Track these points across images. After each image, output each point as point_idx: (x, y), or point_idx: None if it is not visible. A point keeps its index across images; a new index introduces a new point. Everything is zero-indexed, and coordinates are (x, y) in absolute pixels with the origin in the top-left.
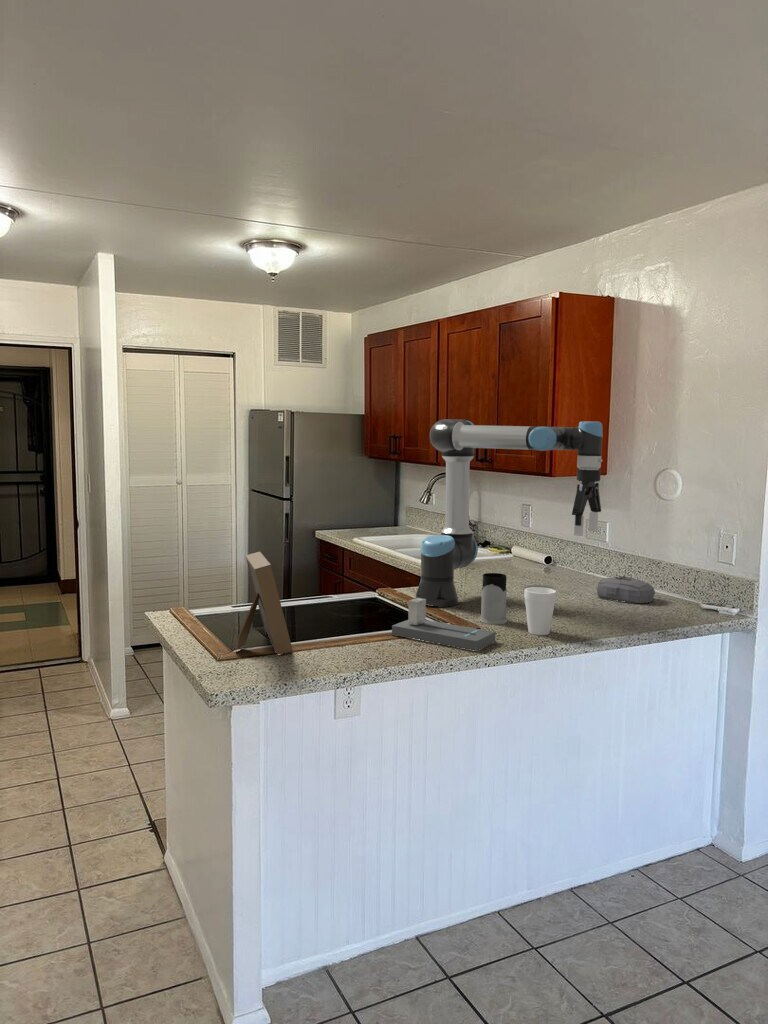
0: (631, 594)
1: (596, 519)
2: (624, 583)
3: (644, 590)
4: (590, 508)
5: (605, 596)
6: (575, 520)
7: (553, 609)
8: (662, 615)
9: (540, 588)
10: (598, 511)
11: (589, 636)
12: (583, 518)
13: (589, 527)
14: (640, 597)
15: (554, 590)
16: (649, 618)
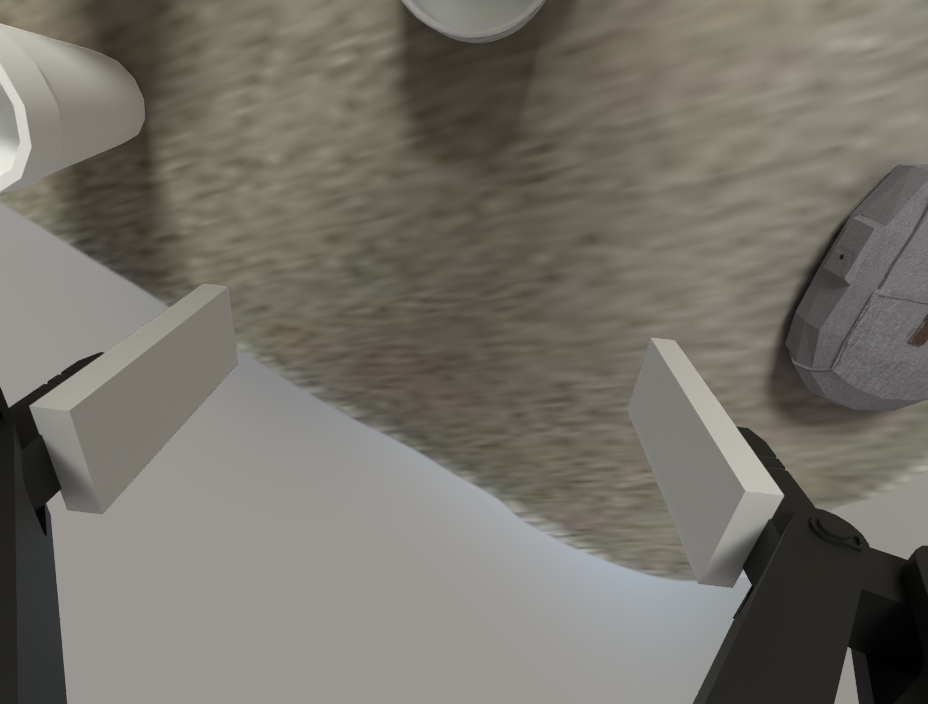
0: (804, 333)
1: (667, 496)
2: (871, 317)
3: (820, 387)
4: (778, 548)
5: (855, 210)
6: (42, 385)
7: (60, 169)
8: (618, 428)
9: (2, 82)
10: (743, 600)
11: (195, 280)
12: (115, 484)
13: (660, 363)
14: (793, 361)
15: (10, 177)
16: (553, 400)
